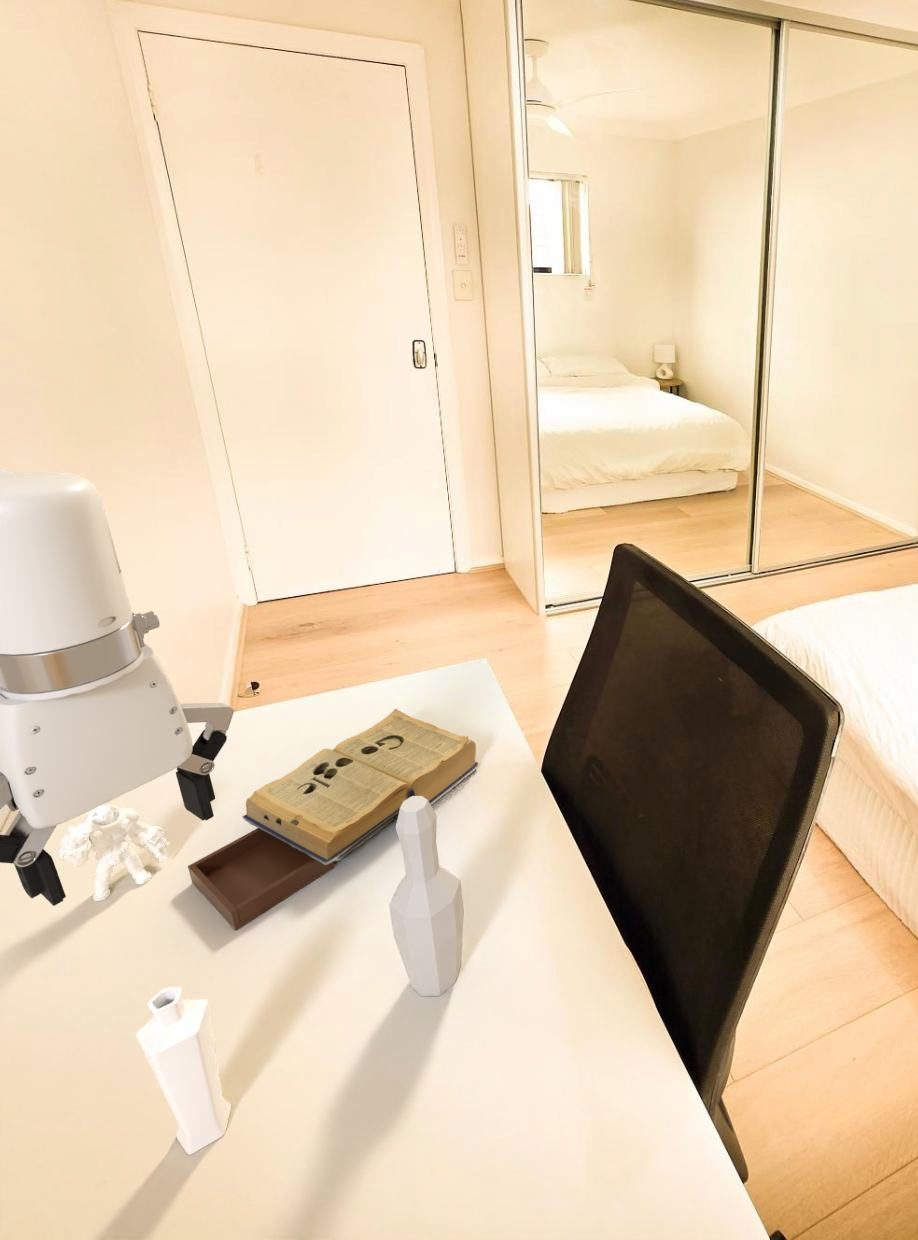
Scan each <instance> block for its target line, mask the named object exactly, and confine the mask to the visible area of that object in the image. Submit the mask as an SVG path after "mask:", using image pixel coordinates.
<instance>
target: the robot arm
mask: <svg viewBox="0 0 918 1240" xmlns="http://www.w3.org/2000/svg"><path fill="white" fill-rule="evenodd" d="M158 628H160V620H159V618H158V616H157V614H156V613H155V612H154V611H152V610H150V611H147V612H144V613H141V612H138V613H135V612H133V611H132V606H131V604H130V600H129V596H128V592H127V588H126V585H125V581H124V577H123V573H122V570H121V566H120V562H119V558H118V556H117V551H116V547H115V544H114V540H113V537H112V533H111V530H110V525H109V521H108V517H107V514H106V510H105V506H104V504H103V499H102V496H101V494H100V492H99V490H98V488H97V486H96V485H94V483H93V482H91V481H90V480H89V479H87V478H86V477H84V476H81V475H79V474H76V473H71V472H65V471H64V472H63V471H31V472H17V471H12V470H8V469H5V468H1V467H0V810H2V808H3V807H5V806H7V808H8V809H9V810H10V811H11V812H16V811H18V812H17V814H16V815H15V817H14V819H13V820H12V822H11V824H10V825H9V827H8V829H7V830H6V831H5V834H0V863H1V864H12V865H14V867H15V871H16V872H17V875H18V878H19V881H20V884H21V886H22V888H23V890H24V891H25V893H26V894H27V896H28V897H29V898H31V899H34V898H36V897H38V896H39V895H42V897H44V899H46V900H47V902H49V903H50V904H51V905H52V906H53V907H55V906H57V905H58V904H60V903H62V902H64V899H65V898H66V897H67V896H66V893H65V889H64V886H63V885H62V881H61V879H60V876H59V873H58V871H57V867H56V865H55V862H54V859H53V857H52V855H51V854H50V853H49V852H47V850H45V849H44V848H45V847H46V844H47V843H48V841H49V839H50V838H51V836H52V835H53V832H54V831H55V830H56V828H57V826H59V825H62V824H64V823H66V822H69V821H70V820H73V819H75V818H78V817H79V816H82V815H83V814H85V813H89V812H91V811H92V810H93V809H94V808H96V807H98V806H100V805H102V804H104V805H106V804H107V803H108V802H111V801H112V800H114V799H117V798H119V797H121V796H123V795H125V794H127V793H129V792H132V791H134V790H135V789H137V788H140V787H141V786H144V785H146V784H147V783H150V782H152V781H154V780H156V779H157V778H160V777H162V776H164V775H166V774H168V773H170V772H172V771H173V770H175V769H176V772H175V777H176V779H177V783H178V787H179V791H180V796H181V798H182V803H183V805H184V808H185V810H187V812H189V813H191V814H192V815H193V816H194V817H197V818H198V819H200V820H201V821H202V822H203V821H209V820H210V819H211V818H214V817H215V815H214V811H213V806H212V803H211V802H213V801H215V800H216V794H215V791H214V786H213V783H212V779H211V773H212V772H213V770H214V769H215V764H216V763H215V762H214V761H215V759H216V758H217V757H218V755H219V753H220V752H221V750H222V749H223V747H224V745H225V744H226V742H227V739H228V737H227V735H226V734H227V731H229V728H230V725H231V722H232V719H233V717H234V716H233V715H234V712H235V711H234V708H233V707H231V706H230V705H227V704H225V703H224V702H194V703H189V702H188V703H181V702H180V699H179V697H178V695H177V693H176V691H175V688H174V687H173V683H172V682H171V680H170V678H169V676H168V673H167V672H166V670H165V668H164V666H163V664H162V662H161V661H160V659H159V657H158V656H157V654H156V653H155V651H154V649H153V648H152V647H151V646H149V645H148V644H147V643H145V641H144V639H145V635H146V634H149V632H150V631H152V630H155V629H158ZM195 723H198V724H199V723H205V725H204V727H205V729H204V730H202V731H201V733H200V735H199V736H198V737H197V739H196V740H195V742H194V744H193V739H192V738H193V737H192V733H191V731H190V728H189V725H188V724H195Z"/></svg>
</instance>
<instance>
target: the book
mask: <svg viewBox="0 0 918 1240" xmlns="http://www.w3.org/2000/svg"><path fill="white" fill-rule="evenodd" d="M476 755H477V745H476V743H475V741H473V740H472V739H470V736H469V735H466V736H465V735H463V736H461V735H459V734H456V733H452V732H450V731H448V730H445V729H443V728H440V727H437V726H436V725H435V724H431V723H429V722H426V721H423V720H420V719H417V718H415V717H412V716H411V715H408V714H406V713H404V712H403V711H401V710H399V709H397V708H394V709H393V711H392V712H390V713H389V714H388V715H387V716H385V717H384V718H383V719H382V720H380V721H379V722H377V723H376V724H373V725H372V726H371V727H369V728H368V729H365V730H363V731H362V732H360V733H358V734H356V735H354V736H351V737H349V738H347V739H345V740H343V741H340V743H338V744H337V745H336V746H335V747H334V748H333V749H331V748H323V749H322V750H319V751H318V752H317V753H315V754H314V755H313V756H311V757H310V758H308V759H307V760H306V761H304V762H303V763H301V764H300V765H299V766H298V767H297V768H295V769H294V770H292V771H290V772H289V773H287V774H285V775H284V776H282V777H281V778H279V779H276V780H273V781H271V782H269V783H266V784H265V785H264V786H261V787H260V788H259V789H256V790H255V791H254V792H253V793H252V794H251V795H250V797H247V798H246V801H245V811H246V813H245V814H244V815H242V819H243V820H244V821H245V822H247V823H248V824H249V825H251V826H253V827H255V828H256V829H257V828H259V829H261V830H263V831H265V832H267V833H269V834H271V835H273V836H275V837H276V838H278V839H280V840H282V841H284V842H286V843H288V844H289V845H291V846H292V847H293V848H296V849H298V850H300V851H302V852H304V853H306V854H307V855H309V856H310V857H312V858H313V859H315V860H317V861H319V862H321V863H322V864H324V865H327V864H329V863H331V862H333V861H334V862H340V860H342V859H344V858H345V857H347V856H348V854H350V853H351V852H352V851H354V850H356V849H357V848H359V847H360V846H362V845H363V844H364V843H365V842H367V840H369V839H371V838H373V837H374V836H375V835H376V834H378V833H379V832H380V831H382V830H383V828H386V826H388V825H389V824H390V823H391V822H392V821H393V820H394V819H398V815H399V811H400V807H401V805H402V803H403V802H404V801H405V800H407V799H408V798H410V797H412V796H423V797H424V798H426V799H427V800H428V801H429V803H430V805H431V806H432V805H433V804H435V803H436V802H437V801H438V800H440V799H441V798H443V796H445V795H447V793H450V791H451V790H453V788H454V787H456V786H457V785H459V784H460V783H461V782H462V781H463V780H464V779H466V778H467V777H468V776H470V775H471V774H472V773H473V772H474V771H476V770H477V769H478V767H479V762H477V761H476V757H477V756H476Z"/></svg>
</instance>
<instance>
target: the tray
mask: <svg viewBox="0 0 918 1240" xmlns="http://www.w3.org/2000/svg"><path fill="white" fill-rule="evenodd" d="M335 867H336V866H335V861H333V862H331V863H329V864H327V865H324V864H322V863H321V862H319V861H317V860H315V859H313V858H312V857H310V856H309V855H307V854H306V853H304V852H302V851H300V850H298V849H296V848H293V847H292V846H291V845H289V844H288V843H286V842H284V841H282V840H280V839H278V838H276V837H275V836H273V835H271V834H269V833H267V832H265V831H263V830H261V829H259V828H257V827H256V828H255V829H253V830H252V831H250V832H248V833H246V834H243V835H242V836H240V837H238V838H237V839H235V840H233V841H231V842H230V843H228V844H226V845H224V846H222V847H220V848H219V849H218V848H217V850H214V851H213V852H211V853H209V854H207V855H206V856H204V857H202V858H199V859H198V860H196V861H195V862H192V863H191V864H189V865H187V869H188V873H189V876H190V880H191V883H192V885H194V887H195V888H196V889H197V890H198V891H199V893H200V894H202V896H203V897H204V898H205V899H206V900H207V901H208V902H209V903H210V904H211V905H212V907H214V909H215V910H216V911H217V912H218V913H219V914H220V915H221V916H222V918H223V919H224V920H225V921H226V922H227V923H228V924H229V925H230V927H232V928H233V929H234V931H238V930H239V929H241V928H243V927H244V926H246V925H247V924H249V923H250V922H252V921H254V920H255V919H257V918H258V917H259V916H261V915H263V914H264V913H266V912H267V911H269V910H271V909H273V908H274V907H275V906H277V905H279V904H281V903H282V902H283V901H284V900H286V899H288V898H290V897H292V896H293V895H294V894H296V893H297V892H299V891H301V890H303V889H304V888H305V887H307V886H308V885H310V884H312V883H313V882H314V881H316V880H317V879H320V878H321V877H323V876H324V875H326V874H327V873H329V872H330V871H332V870H334V869H335Z"/></svg>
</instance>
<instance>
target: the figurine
mask: <svg viewBox="0 0 918 1240" xmlns="http://www.w3.org/2000/svg"><path fill="white" fill-rule="evenodd" d="M139 819H140V815H139V813H138V812H136V811H135V810H134V809H133V808H131V807H124V808H123V807H122V808H121V807H119V806H118V805H115V804H102V805H100V806H98V807H96V808H94V809H92V810H90V811H89V812H88V814H87V815H86V817H85V818H84V820H83V822H81V823H79V824H77V825H76V826H75V825H71V826H68V827H67V831H68V833H67V834H66V835H65V836H63V838H62V839H61V840H60V846H59V852H58V854H59V855H58V856H59V858H60V859H61V860H62V861H65V862H66V861H68V862H69V864H71V865H72V866H73V867H75V868H79V867H81V866H83V865H84V864H86V863H87V862H88V861H89V858H90V852H91V851H93V852H95V861H96V862H97V864H96V872H95V876H94V882H93V885H94V892H93V894H92V896H93V901H94V902H100V901H103V900H105V899H107V898H108V897H110V895H111V890H110V888H111V887H110V883H111V877H112V873H113V869H114V867H115V866H117V865H119V864H121V863H122V864H123V865H124V866H125V867H126V869H127V871H128V873H129V874H131V877H132V879H133V880H134V881H135V884H137V885H144V884H146V883H148V882H149V881H151V879H152V878H153V876H152V873H151V872H150V871H147V870H146V868H145V865H144V862H143V861H142V860H141V858H140V857H139V855H138V854H137V853H136V851H135V849H133V847H131V845H130V843H129V841H127V840H126V838H127V835H128V837H129V838H130V839H131V843H133V844H134V845H135V846H136V847H137V848H139V849H145V850H147V852H148V853H149V859H150V860H153V862H157V861H158V862H159V863H163V861H164V862H166V861H167V860H168V859H169V858H168V850H167V848H168V847H170V842H169V841H167V839H166V838H165V837H163V836H164V835H165V832H164V829H163V828H162V827H161V826H159V825H149V824H147V823H144V822H140V820H139Z"/></svg>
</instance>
